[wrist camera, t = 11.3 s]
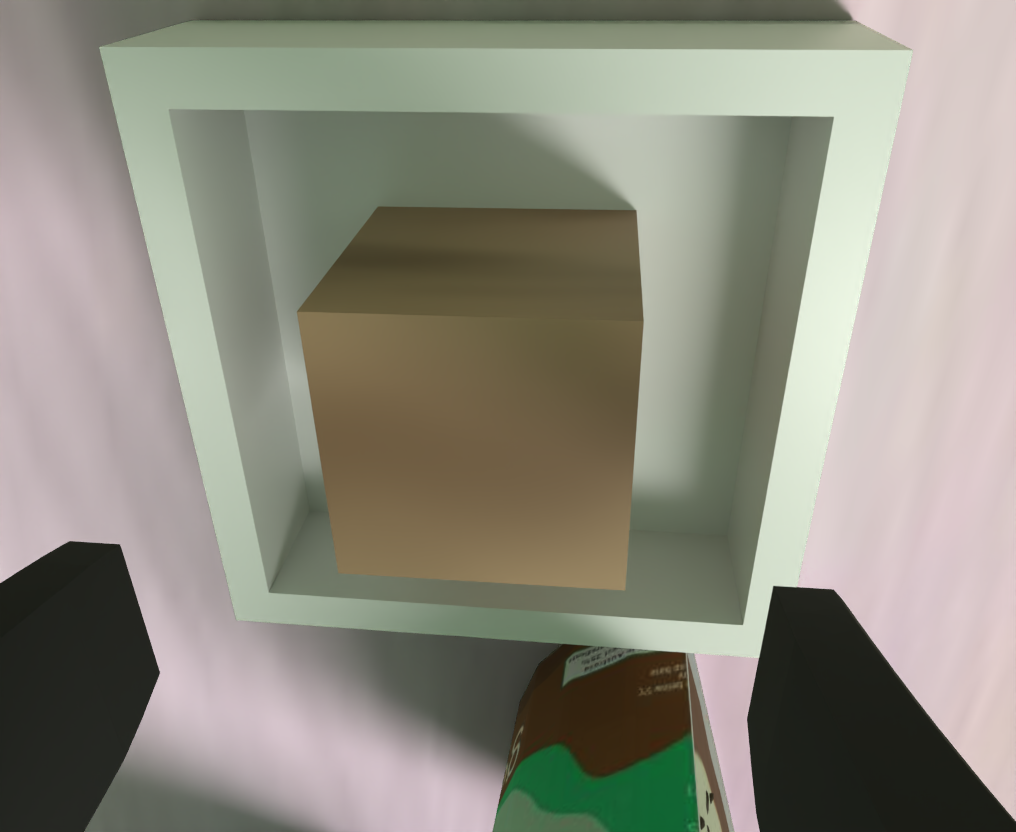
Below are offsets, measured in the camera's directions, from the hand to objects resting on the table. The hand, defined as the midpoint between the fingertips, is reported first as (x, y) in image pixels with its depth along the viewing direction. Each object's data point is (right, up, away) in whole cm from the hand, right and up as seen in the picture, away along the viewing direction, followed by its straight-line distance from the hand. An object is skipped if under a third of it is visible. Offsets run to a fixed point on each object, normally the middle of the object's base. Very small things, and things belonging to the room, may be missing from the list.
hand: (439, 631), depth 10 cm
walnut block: (+1, +4, +6) cm, 8 cm away
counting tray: (+1, +4, +7) cm, 8 cm away
